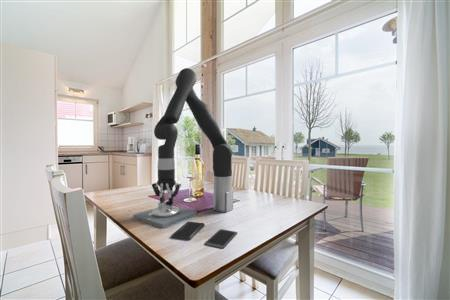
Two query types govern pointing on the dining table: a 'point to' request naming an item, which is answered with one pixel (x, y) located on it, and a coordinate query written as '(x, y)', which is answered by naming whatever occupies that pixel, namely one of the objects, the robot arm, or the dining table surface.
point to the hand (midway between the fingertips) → (166, 205)
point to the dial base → (164, 221)
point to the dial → (164, 210)
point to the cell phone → (221, 239)
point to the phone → (188, 231)
